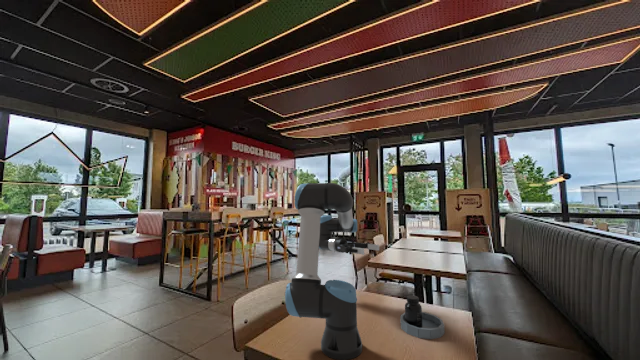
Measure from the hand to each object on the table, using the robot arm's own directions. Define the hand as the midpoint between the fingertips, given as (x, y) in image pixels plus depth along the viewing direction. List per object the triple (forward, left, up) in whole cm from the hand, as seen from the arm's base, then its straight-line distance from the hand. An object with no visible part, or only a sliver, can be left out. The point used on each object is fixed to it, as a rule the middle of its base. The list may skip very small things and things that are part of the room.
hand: (371, 249), depth 130 cm
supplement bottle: (+9, -20, -29) cm, 36 cm away
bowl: (+12, -20, -30) cm, 38 cm away
